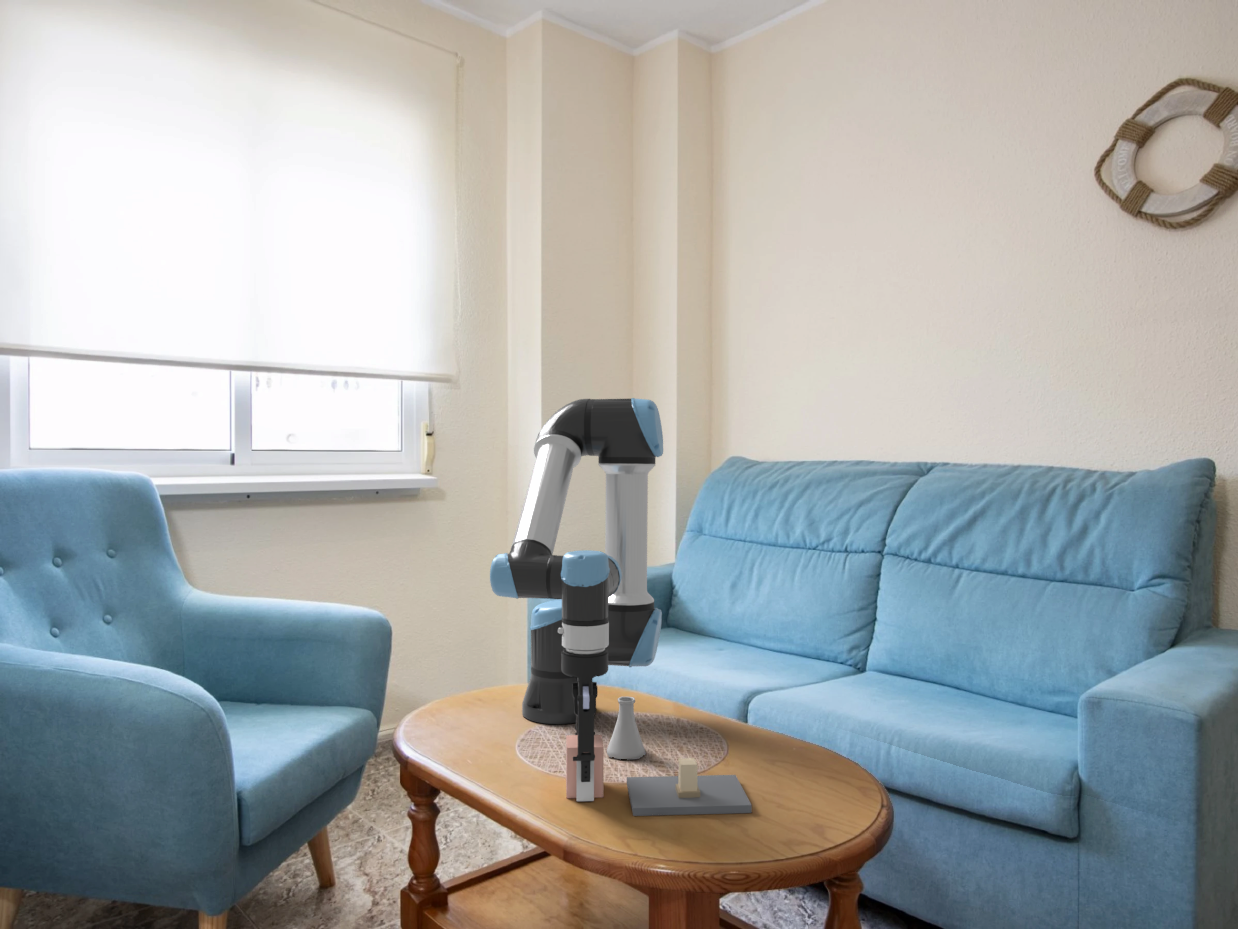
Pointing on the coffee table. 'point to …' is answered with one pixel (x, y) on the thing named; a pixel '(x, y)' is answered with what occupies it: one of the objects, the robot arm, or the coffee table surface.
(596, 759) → the pink upright block
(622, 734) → the flask
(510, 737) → the coffee table surface
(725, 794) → the post board
